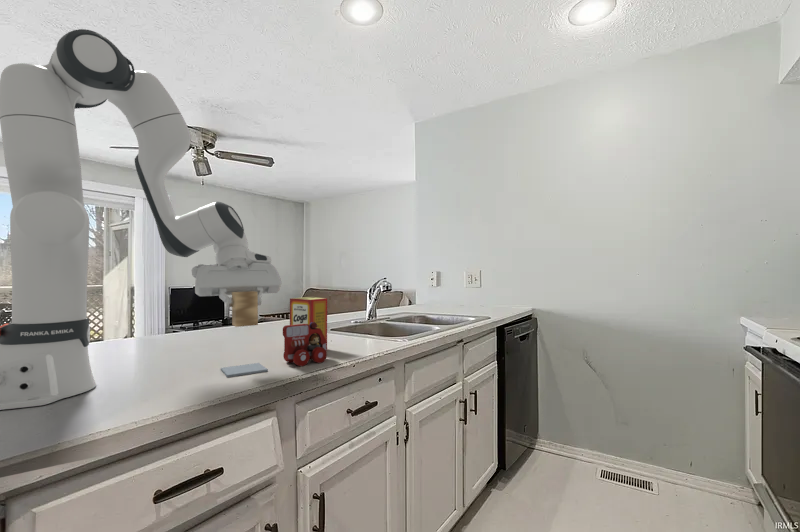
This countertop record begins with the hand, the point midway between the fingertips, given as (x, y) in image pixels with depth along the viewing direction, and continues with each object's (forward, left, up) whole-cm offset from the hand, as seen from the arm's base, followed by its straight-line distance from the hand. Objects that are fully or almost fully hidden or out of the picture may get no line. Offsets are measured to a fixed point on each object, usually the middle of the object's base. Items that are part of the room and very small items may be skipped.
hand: (244, 304), depth 94 cm
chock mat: (0, 0, -16) cm, 16 cm away
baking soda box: (+22, +16, -16) cm, 32 cm away
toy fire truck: (+15, 0, -16) cm, 22 cm away
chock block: (0, 0, -5) cm, 5 cm away
